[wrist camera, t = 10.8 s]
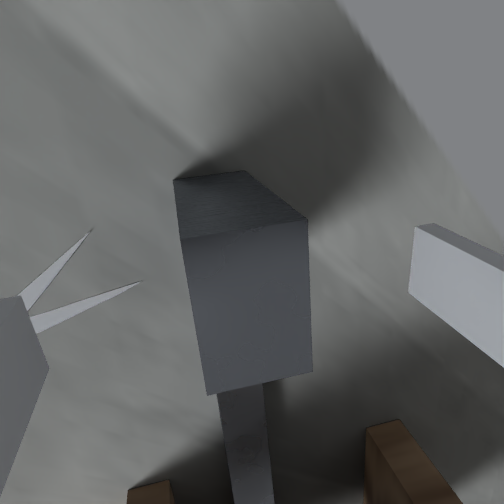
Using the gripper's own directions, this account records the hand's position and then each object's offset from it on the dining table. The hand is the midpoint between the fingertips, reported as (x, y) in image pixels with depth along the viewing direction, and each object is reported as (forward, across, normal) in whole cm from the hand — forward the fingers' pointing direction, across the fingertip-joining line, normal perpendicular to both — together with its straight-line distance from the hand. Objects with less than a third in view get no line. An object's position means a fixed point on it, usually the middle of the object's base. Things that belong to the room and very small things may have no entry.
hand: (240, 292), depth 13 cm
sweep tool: (+9, 0, -12) cm, 16 cm away
